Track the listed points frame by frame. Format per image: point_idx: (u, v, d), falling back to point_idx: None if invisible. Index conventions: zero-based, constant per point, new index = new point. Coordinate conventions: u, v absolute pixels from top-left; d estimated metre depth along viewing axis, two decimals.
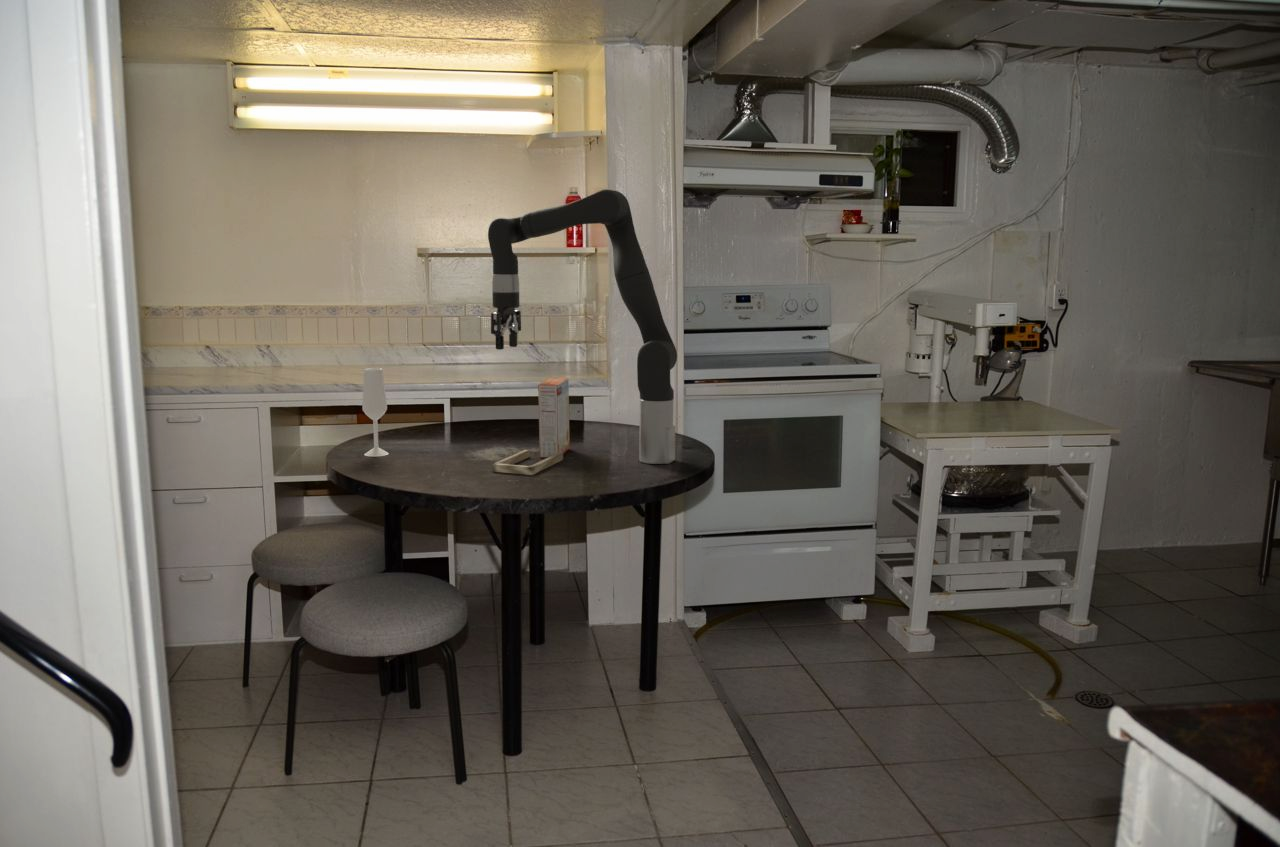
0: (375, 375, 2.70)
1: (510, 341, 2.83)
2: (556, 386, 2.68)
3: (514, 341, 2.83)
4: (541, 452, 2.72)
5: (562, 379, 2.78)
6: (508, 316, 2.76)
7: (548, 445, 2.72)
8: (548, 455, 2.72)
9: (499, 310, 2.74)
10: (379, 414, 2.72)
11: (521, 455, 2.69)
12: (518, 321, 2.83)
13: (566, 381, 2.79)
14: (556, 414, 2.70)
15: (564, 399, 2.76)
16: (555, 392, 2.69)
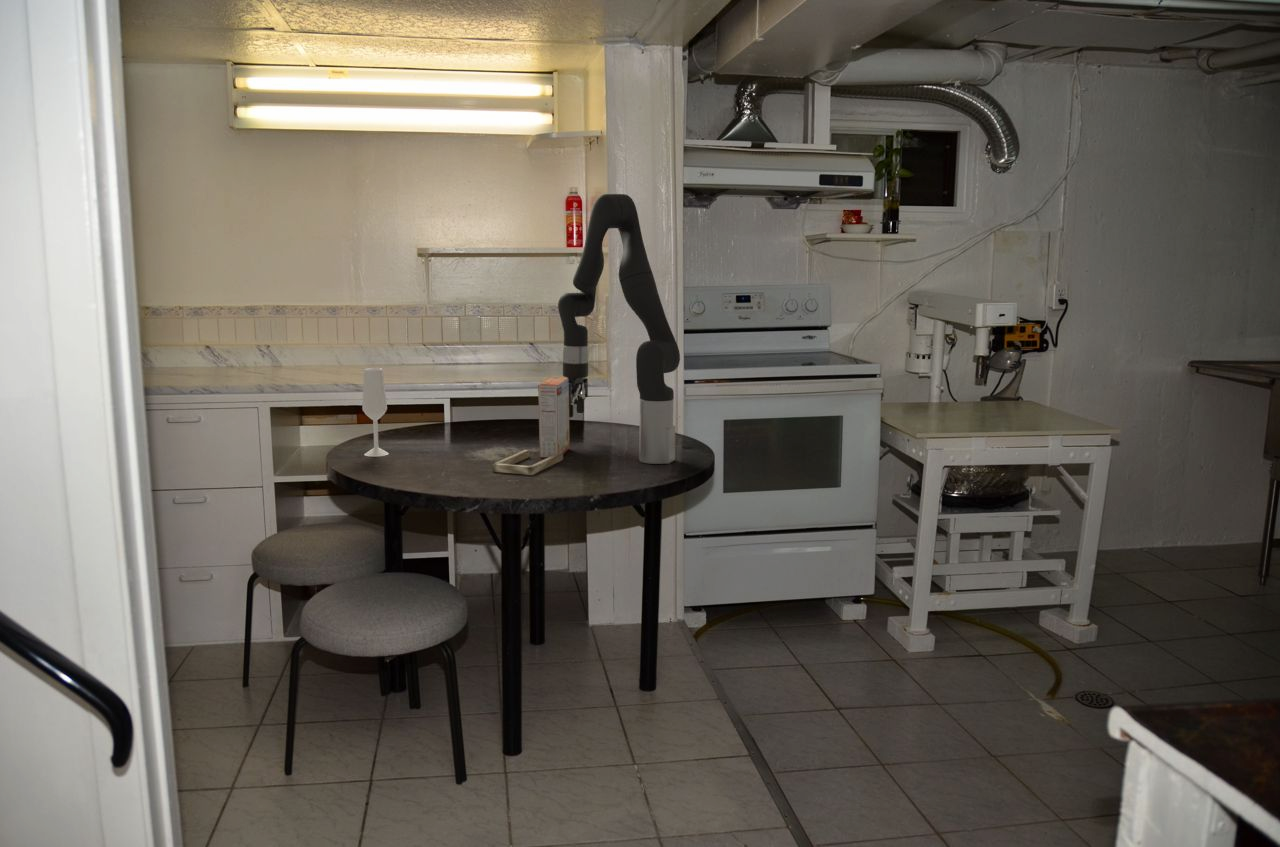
0: (375, 375, 2.70)
1: (577, 407, 2.96)
2: (556, 386, 2.68)
3: (581, 407, 2.96)
4: (541, 452, 2.72)
5: (562, 379, 2.78)
6: (578, 385, 2.89)
7: (548, 445, 2.72)
8: (548, 455, 2.72)
9: (569, 380, 2.87)
10: (379, 414, 2.72)
11: (521, 455, 2.69)
12: (585, 388, 2.96)
13: (566, 381, 2.79)
14: (556, 414, 2.70)
15: (564, 399, 2.76)
16: (555, 392, 2.69)
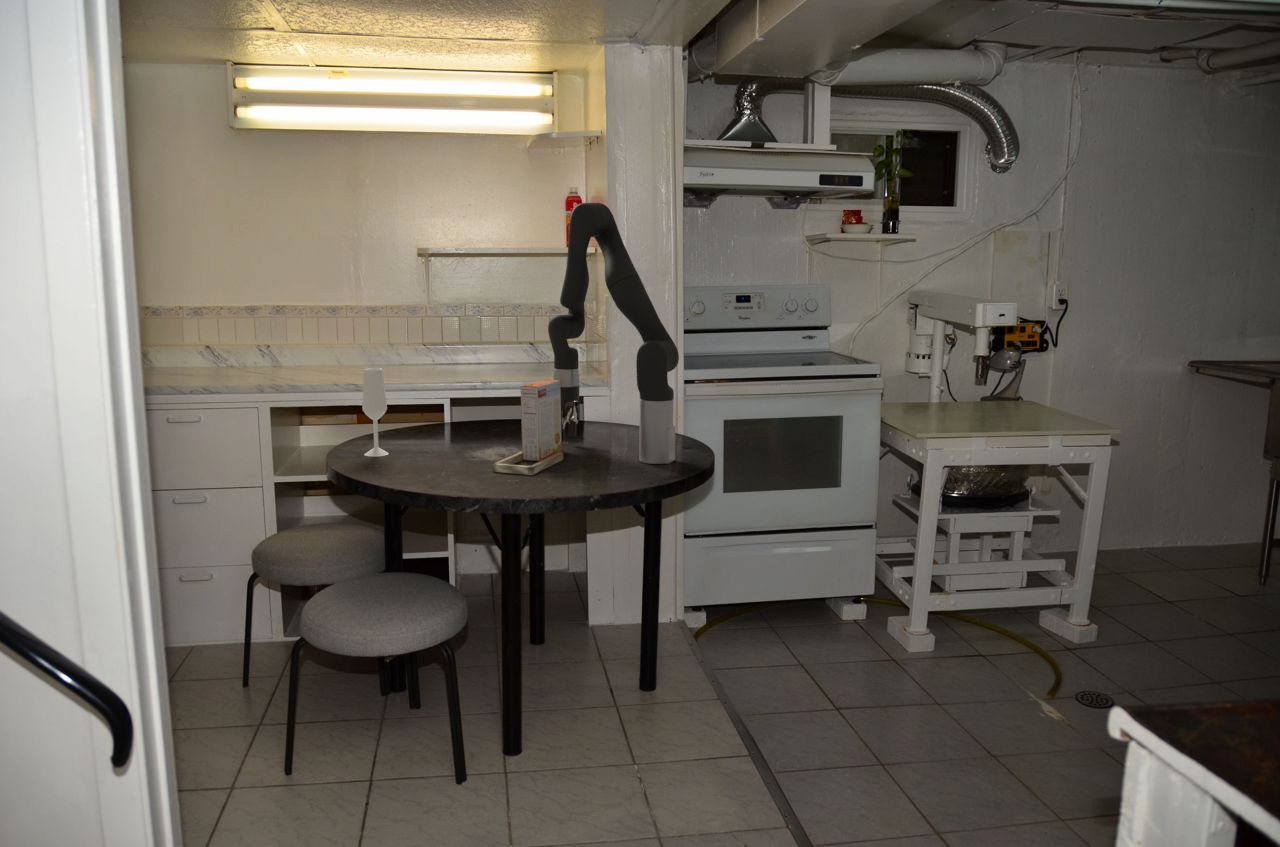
0: (375, 375, 2.70)
1: (569, 431, 2.90)
2: (537, 388, 2.64)
3: (573, 431, 2.90)
4: (523, 454, 2.69)
5: (551, 381, 2.74)
6: (569, 409, 2.83)
7: (529, 447, 2.68)
8: (530, 458, 2.68)
9: None
10: (379, 414, 2.72)
11: (521, 455, 2.69)
12: (577, 411, 2.91)
13: (556, 383, 2.74)
14: (537, 416, 2.65)
15: (551, 401, 2.71)
16: (536, 394, 2.64)
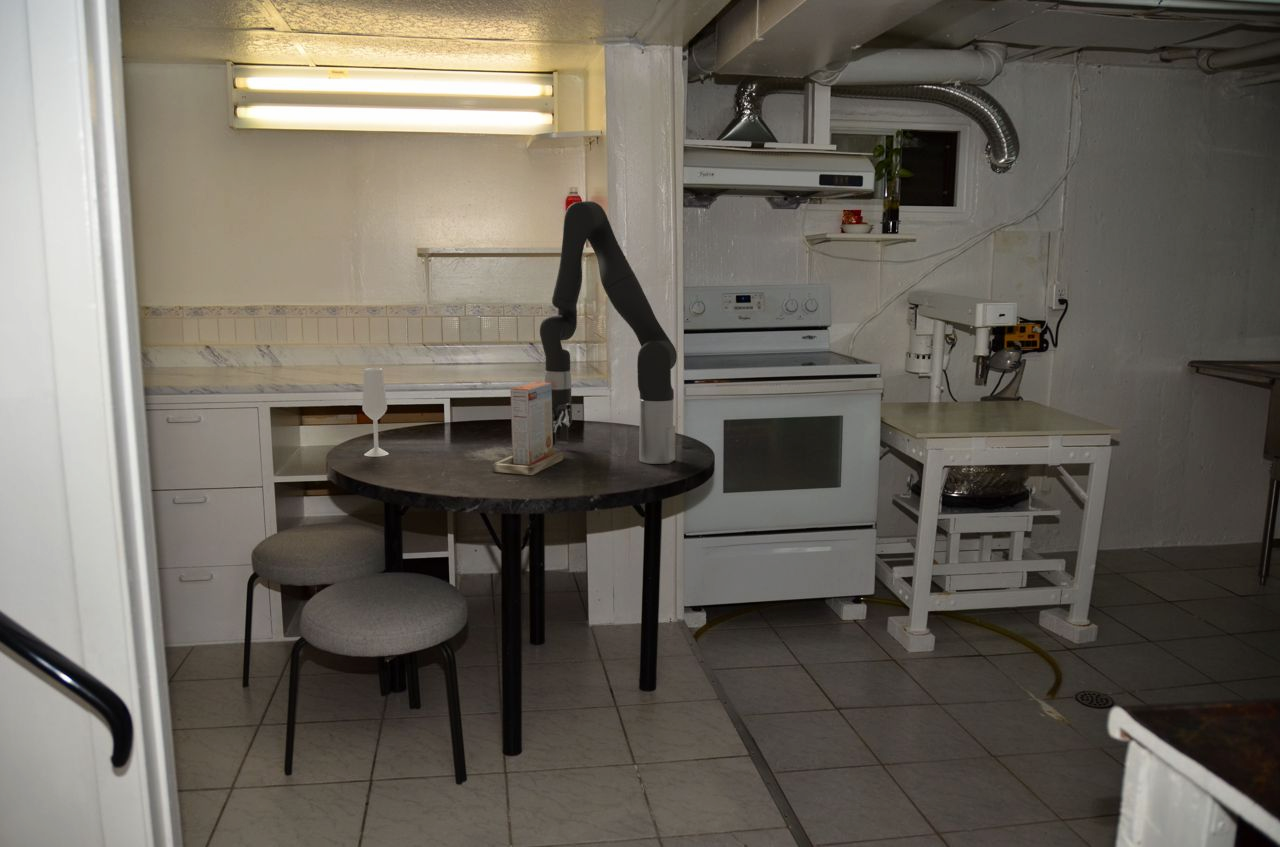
0: (375, 375, 2.70)
1: (561, 434, 2.85)
2: (527, 391, 2.59)
3: (565, 434, 2.84)
4: (514, 459, 2.63)
5: (542, 384, 2.68)
6: (560, 412, 2.77)
7: (520, 451, 2.62)
8: (520, 462, 2.63)
9: None
10: (379, 414, 2.72)
11: None
12: (569, 414, 2.85)
13: (547, 386, 2.68)
14: (527, 420, 2.60)
15: (542, 405, 2.66)
16: (526, 397, 2.59)
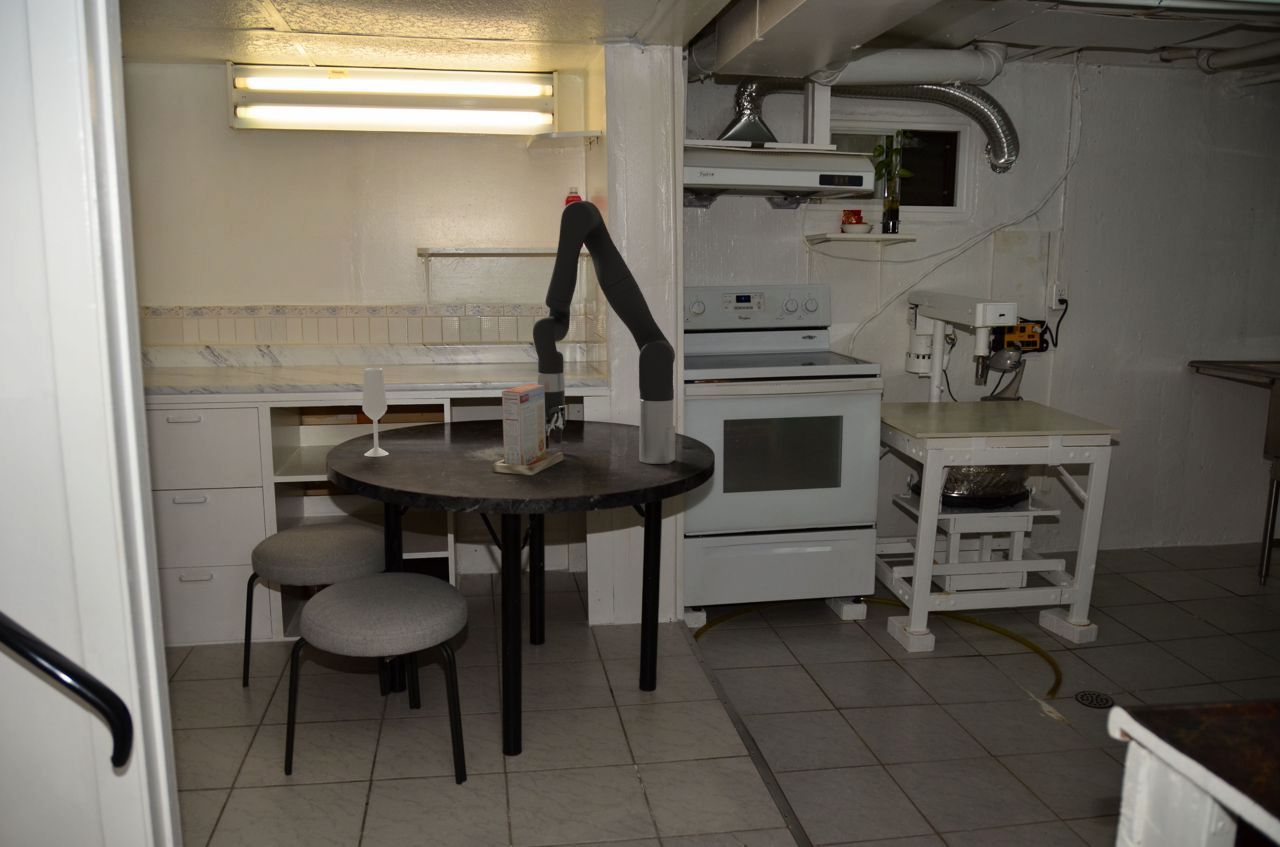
0: (375, 375, 2.70)
1: (554, 437, 2.80)
2: (519, 393, 2.54)
3: (559, 437, 2.80)
4: (505, 462, 2.59)
5: (535, 386, 2.63)
6: (553, 415, 2.73)
7: (511, 455, 2.58)
8: None
9: (545, 409, 2.71)
10: (379, 414, 2.72)
11: None
12: (563, 417, 2.81)
13: (540, 388, 2.64)
14: (519, 423, 2.55)
15: (534, 407, 2.61)
16: (517, 399, 2.54)
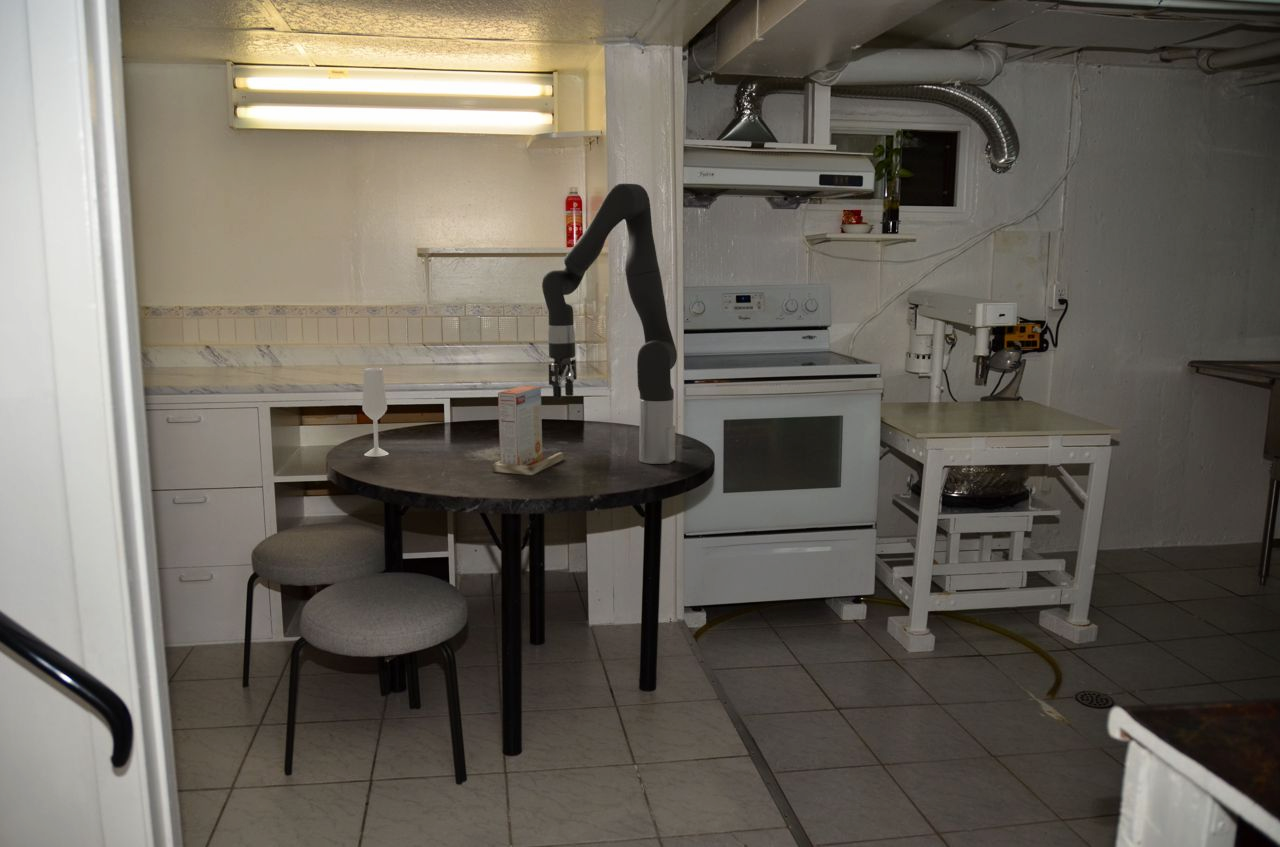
0: (375, 375, 2.70)
1: (566, 390, 2.86)
2: (515, 395, 2.52)
3: (570, 390, 2.85)
4: None
5: (531, 387, 2.61)
6: (565, 366, 2.78)
7: (507, 457, 2.55)
8: None
9: (556, 361, 2.77)
10: (379, 414, 2.72)
11: None
12: (573, 370, 2.86)
13: (536, 389, 2.62)
14: (515, 425, 2.53)
15: (531, 409, 2.59)
16: (514, 401, 2.52)
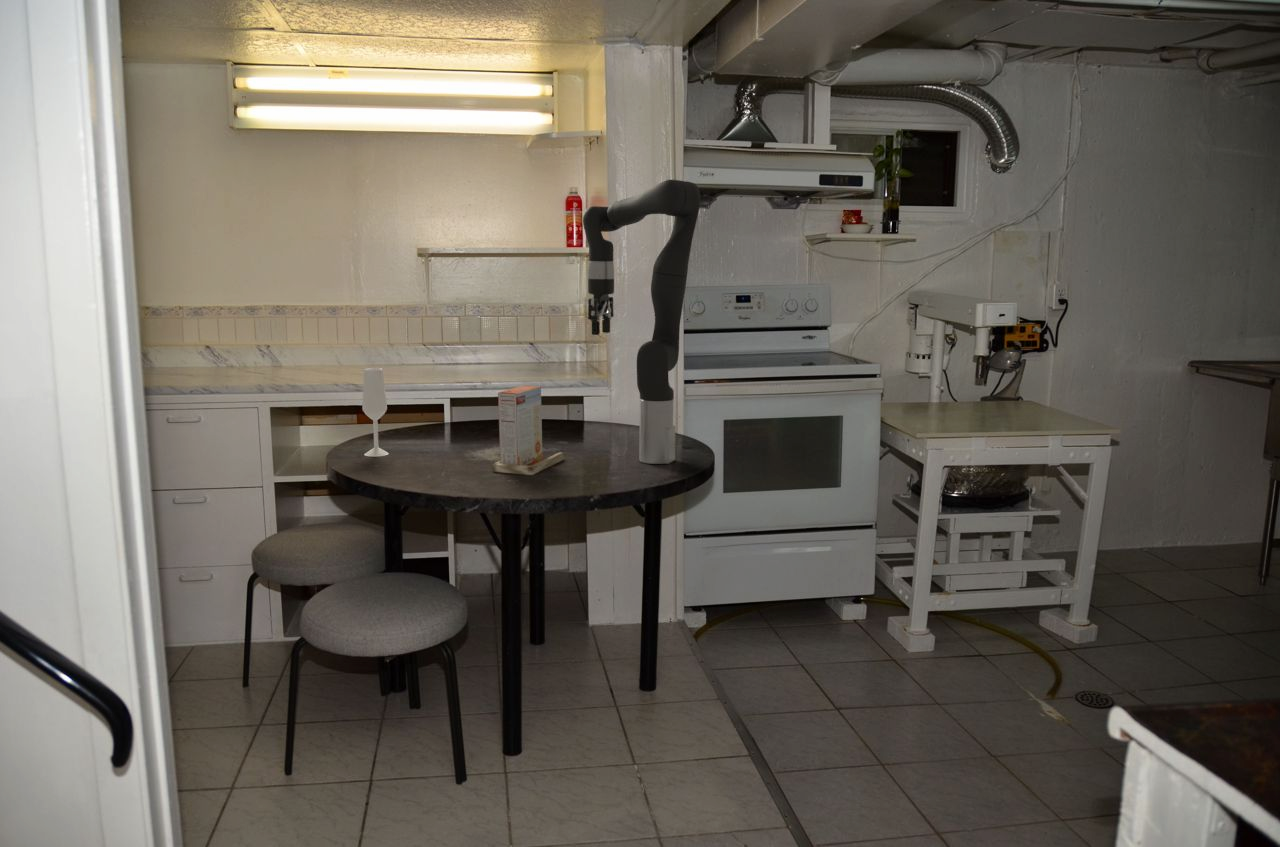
0: (375, 375, 2.70)
1: (603, 327, 2.89)
2: (515, 395, 2.52)
3: (607, 327, 2.89)
4: None
5: (531, 387, 2.61)
6: (604, 302, 2.82)
7: (507, 457, 2.55)
8: None
9: (595, 296, 2.80)
10: (379, 414, 2.72)
11: None
12: (611, 307, 2.90)
13: (536, 390, 2.62)
14: (515, 424, 2.53)
15: (531, 409, 2.59)
16: (514, 401, 2.52)
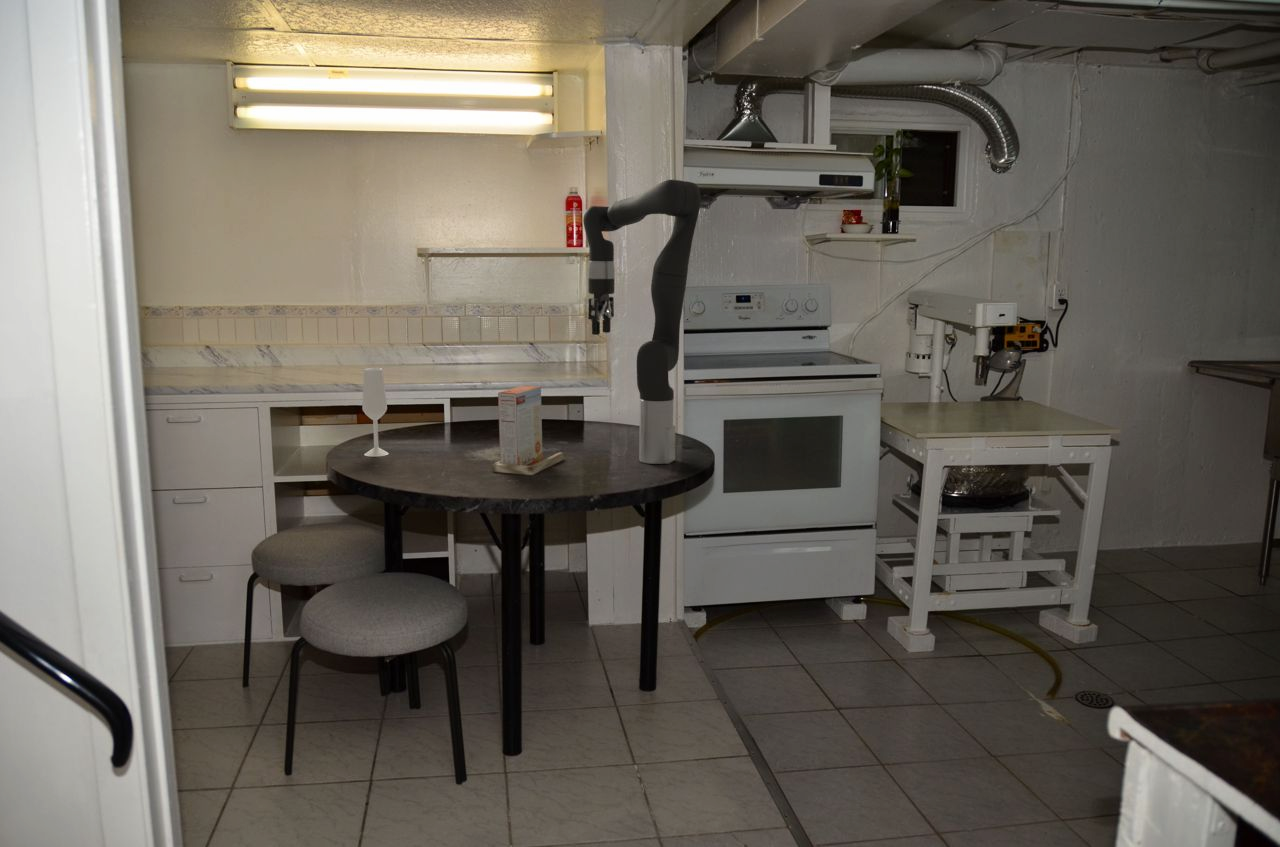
0: (375, 375, 2.70)
1: (603, 326, 2.89)
2: (515, 395, 2.52)
3: (607, 327, 2.89)
4: None
5: (531, 387, 2.61)
6: (604, 302, 2.82)
7: (507, 457, 2.55)
8: None
9: (596, 296, 2.80)
10: (379, 414, 2.72)
11: None
12: (611, 307, 2.90)
13: (536, 390, 2.62)
14: (515, 425, 2.53)
15: (531, 409, 2.59)
16: (514, 401, 2.52)
